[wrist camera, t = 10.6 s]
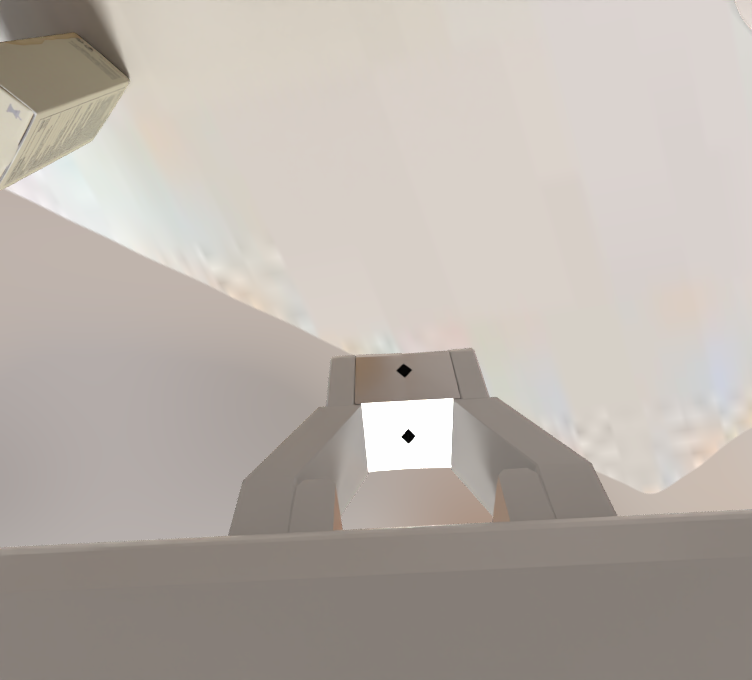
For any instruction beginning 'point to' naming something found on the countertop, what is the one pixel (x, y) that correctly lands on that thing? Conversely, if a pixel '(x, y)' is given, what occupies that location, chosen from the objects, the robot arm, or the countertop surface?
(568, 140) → the countertop surface
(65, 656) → the robot arm
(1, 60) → the skincare box
